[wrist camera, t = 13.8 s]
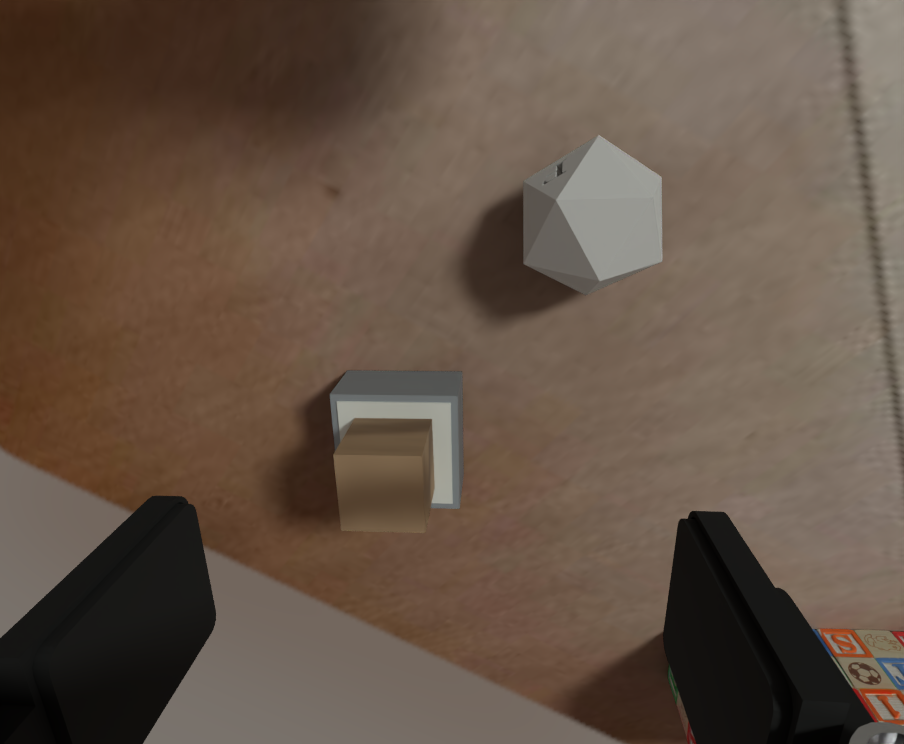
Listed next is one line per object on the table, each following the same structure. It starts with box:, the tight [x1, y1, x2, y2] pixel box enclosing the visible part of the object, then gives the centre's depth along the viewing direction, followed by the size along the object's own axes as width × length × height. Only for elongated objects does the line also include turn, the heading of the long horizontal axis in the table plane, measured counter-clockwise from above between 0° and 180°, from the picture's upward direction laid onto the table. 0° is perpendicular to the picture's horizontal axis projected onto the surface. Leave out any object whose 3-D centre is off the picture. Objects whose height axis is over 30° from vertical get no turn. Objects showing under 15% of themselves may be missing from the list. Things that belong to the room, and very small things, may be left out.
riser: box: [330, 371, 464, 509], centre depth 43 cm, size 9×9×5 cm
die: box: [523, 135, 662, 295], centre depth 36 cm, size 8×9×10 cm
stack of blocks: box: [668, 629, 904, 744], centre depth 45 cm, size 21×6×12 cm, turn 93°
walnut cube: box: [333, 418, 435, 533], centre depth 38 cm, size 6×6×6 cm
